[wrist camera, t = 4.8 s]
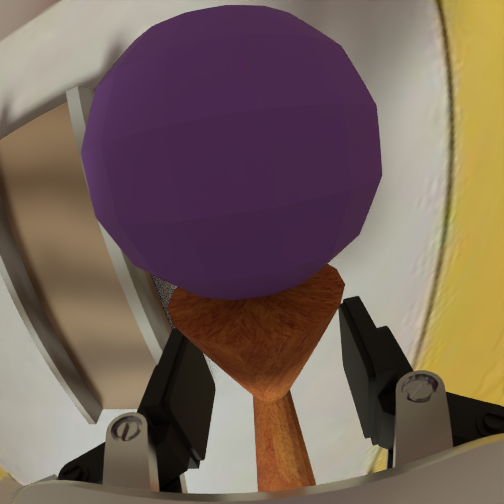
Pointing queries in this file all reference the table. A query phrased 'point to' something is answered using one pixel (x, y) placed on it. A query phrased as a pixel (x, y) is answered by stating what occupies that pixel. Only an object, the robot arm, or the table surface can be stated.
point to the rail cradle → (74, 267)
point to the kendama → (239, 193)
